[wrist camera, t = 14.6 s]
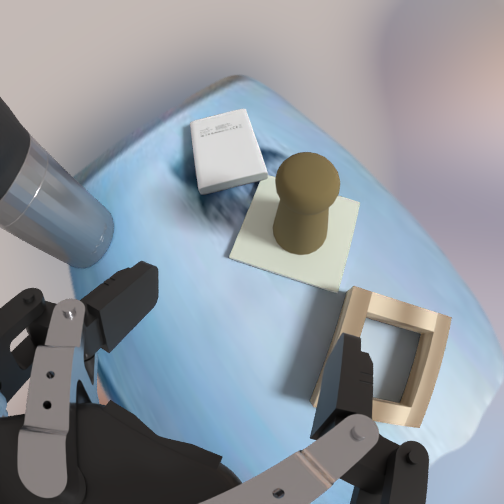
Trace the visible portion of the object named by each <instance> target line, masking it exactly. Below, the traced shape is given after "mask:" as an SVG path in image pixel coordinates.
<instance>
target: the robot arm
mask: <svg viewBox="0 0 504 504" xmlns="http://www.w3.org/2000/svg"><path fill="white" fill-rule="evenodd" d="M0 227H1V228H2V229H4V230H6V231H7V232H9V233H11V234H13V235H14V236H16V237H18V238H20V239H22V240H23V241H25V242H27V243H29V244H31V245H32V246H34V247H36V248H38V249H40V250H42V251H44V252H46V253H48V254H49V255H51V256H53V257H55V258H57V259H59V260H61V261H63V262H65V263H67V264H69V265H71V266H73V267H76V268H87V267H89V266H92V265H93V264H95V263H96V262H97V261H98V260H99V259H101V258H102V256H103V255H104V254H105V252H106V251H107V249H108V247H109V245H110V243H111V240H112V236H113V231H114V223H113V218H112V216H111V213H110V212H109V211H108V210H107V209H106V208H105V207H104V206H103V205H102V204H101V203H100V202H99V201H98V200H97V199H95V198H94V197H93V196H92V195H91V194H90V193H89V192H88V191H87V190H86V189H85V188H84V187H83V186H82V185H81V184H80V183H78V182H77V181H76V180H75V179H74V178H73V177H72V176H71V175H70V174H69V173H68V172H67V171H66V170H65V169H64V168H63V167H62V166H61V165H60V164H59V163H58V162H57V161H56V160H55V159H54V158H53V157H52V156H51V155H50V154H49V153H48V152H47V151H46V150H45V149H44V148H43V147H42V146H41V145H40V144H39V143H38V142H37V141H36V140H35V139H34V138H33V137H32V136H31V135H30V134H29V133H28V131H27V130H26V129H25V128H24V127H23V126H22V125H21V124H20V123H19V121H18V120H17V118H16V117H15V115H14V114H13V113H12V111H11V110H10V108H9V107H8V106H7V105H6V103H5V102H4V101H3V100H2V99H1V97H0ZM157 300H158V268H157V267H156V266H154V265H151V264H149V263H146V262H144V261H140V262H138V263H137V264H136V265H134V266H133V267H132V268H126V269H123V270H120V271H118V272H116V273H115V274H114V275H112V276H111V277H110V279H109V278H108V279H107V280H106V281H104V283H103V284H100V285H99V286H98V287H97V288H95V289H94V290H93V291H91V292H90V293H89V294H88V295H86V296H85V297H84V298H82V299H81V300H80V301H79V300H77V299H66V300H63V301H61V302H60V303H58V304H55V303H51V302H48V301H45V300H44V297H43V294H42V292H41V290H39V289H36V288H28V289H25V290H23V291H22V292H21V293H19V294H18V295H17V296H15V297H14V298H13V299H11V300H10V301H9V302H8V303H6V304H5V305H4V306H3V307H2V308H0V504H310V503H311V502H312V501H314V500H315V499H316V498H318V497H319V496H320V495H322V494H323V493H324V492H325V491H327V490H328V489H329V488H330V487H331V486H332V485H333V483H334V482H335V481H336V480H337V479H339V478H340V479H342V480H344V481H346V482H348V483H350V484H352V485H354V490H353V494H352V498H351V501H350V504H425V502H426V493H427V483H428V468H429V456H428V453H427V450H426V449H425V447H424V446H423V445H422V444H420V443H418V442H415V441H407V442H405V443H403V444H402V445H398V444H396V443H394V442H392V441H390V440H388V439H386V438H384V437H383V436H381V435H380V434H379V430H378V427H377V425H376V424H375V422H374V421H373V420H372V407H373V363H372V360H371V358H370V356H369V354H368V353H365V352H362V351H361V338H360V337H357V336H354V335H350V334H347V333H342V334H341V335H340V337H339V339H338V341H337V343H336V345H335V347H334V348H333V350H332V352H331V354H330V356H329V358H328V360H327V362H326V365H325V368H324V372H323V377H322V383H321V388H320V393H319V398H318V403H317V408H316V413H315V418H314V422H313V427H312V431H311V435H310V439H314V440H317V441H315V442H314V443H312V444H311V445H309V446H308V447H307V448H305V449H303V450H300V451H298V452H296V453H294V454H292V455H291V456H289V457H288V458H286V459H285V460H283V461H281V462H280V463H278V464H276V465H275V466H273V467H271V468H270V469H268V470H266V471H264V472H263V473H261V474H259V475H257V476H255V477H254V478H252V479H250V480H248V481H246V482H244V483H242V482H241V481H240V480H239V478H238V477H237V476H236V475H235V474H234V473H233V472H232V471H231V470H230V469H229V468H227V467H226V466H225V465H223V464H222V463H221V460H222V456H220V455H217V454H215V453H212V452H210V451H207V450H205V449H202V448H200V447H198V446H195V445H193V444H189V443H185V442H180V441H176V440H171V439H167V438H163V437H160V436H158V435H156V434H155V433H154V432H153V431H152V430H151V429H149V428H148V427H147V426H146V425H145V424H144V423H143V422H142V421H141V420H140V419H138V418H137V417H136V416H135V415H134V414H132V413H131V412H129V411H127V410H126V409H124V408H122V407H121V406H119V405H118V404H116V403H114V402H113V401H111V400H110V401H109V402H108V404H107V405H101V404H99V399H98V395H97V359H98V355H97V351H98V350H99V349H100V348H102V349H103V350H105V351H107V352H108V353H110V352H111V351H112V350H113V349H114V348H115V347H116V346H117V345H118V344H119V343H120V341H121V340H122V339H123V338H124V337H125V336H126V335H127V334H128V333H129V332H130V331H131V330H132V329H133V328H134V327H135V326H136V325H137V324H138V323H139V322H140V321H141V320H142V319H143V318H144V317H145V316H146V315H147V314H148V313H149V312H150V311H151V310H152V309H153V308H154V306H155V305H156V303H157ZM25 328H26V330H27V332H28V334H29V335H28V336H27V337H26V338H25V339H24V340H23V341H22V342H21V343H20V344H19V345H18V346H17V347H16V348H15V349H14V350H13V351H12V352H10V344H11V342H12V340H13V339H15V338H16V337H17V336H18V335H19V334H20V333H21V332H22V331H23V330H24V329H25ZM29 378H30V383H29V389H28V396H27V404H26V412H25V414H21V415H14V416H8V412H7V410H6V406H7V403H8V402H9V400H10V399H11V398H12V397H13V396H14V395H15V394H16V392H17V391H18V390H19V389H20V388H21V387H22V386H23V384H24V383H25V382H26V381H27V380H28V379H29Z"/></svg>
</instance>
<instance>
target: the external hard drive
mask: <svg viewBox="0 0 504 504" xmlns="http://www.w3.org/2000/svg"><path fill="white" fill-rule="evenodd" d="M190 128H191V137H192V145H193V153H194V161H195V168H196V176H197V183H198V189H199V192H200V194H201V195H206V194H209V193H213V192H217V191H221V190H225V189H229V188H233V187H237V186H241V185H245V184H249V183H253V182H257V181H262V180H265V179H267V178H268V172H267V169H266V166H265V163H264V160H263V157H262V154H261V151H260V148H259V146H258V143H257V140H256V137H255V134H254V131H253V128H252V125H251V123H250V120H249V117H248V114H247V111H246V109H239V110H235V111H231V112H227V113H222V114H218V115H214V116H210V117H206V118H203V119H199V120H195V121H193V122H191V123H190Z"/></svg>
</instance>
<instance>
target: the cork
mask: <svg viewBox="0 0 504 504" xmlns="http://www.w3.org/2000/svg"><path fill="white" fill-rule="evenodd" d="M275 185H276V192H277V194H278V196H279V198H280V201H279V205H278V208H277V212H276V216H275V219H274V224H273V235H274V237H275V240H276V242H277V243H278V244H279V245H280V246H281V248H282V249H284V250H286V251H287V252H289V253H291V254H296V255H306V254H310V253H312V252H315V251H317V250H318V249H319V248H320V247H321V246H322V245H323V243H324V241H325V240H326V237H327V230H328V216H329V207H330V206H331V205H332V204H333V203H334V202H335V200H336V198H337V196H338V194H339V189H340V179H339V175H338V172H337V170H336V169H335V167H334V166H333V164H332V163H331V162H330V161H329V160H327V159H326V158H325V157H323V156H321V155H319V154H316V153H311V152H302V153H297V154H295V155H292V156H290V157H289V158H287V159H286V160H285V161H283V163H282V164H281V166H280V167H279V169H278V171H277V174H276V178H275Z"/></svg>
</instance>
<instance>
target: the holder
mask: <svg viewBox="0 0 504 504" xmlns="http://www.w3.org/2000/svg"><path fill="white" fill-rule="evenodd" d="M365 318H369V319H373V320H376V321H379V322H383V323H386V324H389V325H393V326H396V327H400V328H403V329H406V330H410V331H413V332H417V333H420V334H421V336H420V340H419V343H418V347H417V351H416V355H415V358H414V362H413V365H412V368H411V372H410V375H409V378H408V381H407V384H406V387H405V390H404V393H403V396H402V399H401V401H400V403H397V402H392V401H387V400H382V399H378V398H373V407H372V420H373V421H377V422H383V423H389V424H395V425H401V426H408V427H416V428H420V425H421V423H422V420H423V418H424V415H425V412H426V410H427V407H428V404H429V401H430V399H431V396H432V393H433V390H434V386H435V383H436V380H437V377H438V373H439V370H440V366H441V363H442V359H443V355H444V351H445V347H446V343H447V338H448V334H449V329H450V324H451V318H452V317H449V316H446V315H443V314H440V313H436V312H433V311H430V310H427V309H424V308H421V307H418V306H415V305H411V304H408V303H405V302H402V301H399V300H396V299H393V298H390V297H387V296H383V295H380V294H377V293H374V292H371V291H368V290H365V289H362V288H359V287H355V286H353V287H352V288H351V289H350V290H348V291H347V292H346V296H345V299H344V303H343V306H342V310H341V313H340V316H339V320H338V323H337V326H336V329H335V332H334V335H333V338H332V341H331V344H330V347H329V350H328V353H327V356H326V359H325V362H324V365H323V367H322V370H321V373H320V376H319V378H318V381H317V384H316V386H315V389H314V391H313V394H312V396H311V399H310V402H311V404H312V405H313V407H316V408H317V403H318V398H319V393H320V388H321V383H322V377H323V372H324V368H325V365H326V362H327V360H328V358H329V356H330V354H331V352H332V350H333V348H334V347H335V345H336V343H337V341H338V339H339V337H340V335H341V334H342V333H347V334H350V335H354V336H357V337H360V335H361V332H362V329H363V325H364V322H365Z"/></svg>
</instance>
